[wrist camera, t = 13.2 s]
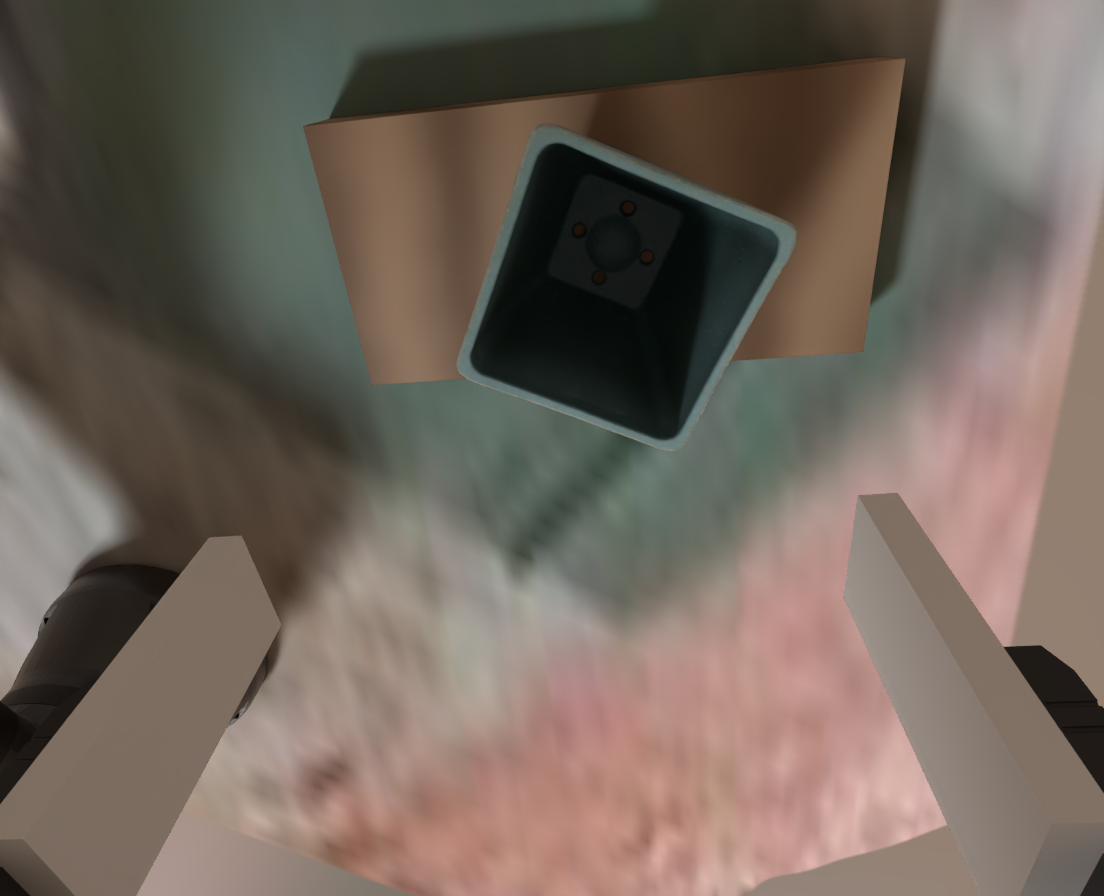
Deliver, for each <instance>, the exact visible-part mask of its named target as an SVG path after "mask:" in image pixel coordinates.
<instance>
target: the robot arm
mask: <svg viewBox="0 0 1104 896" xmlns="http://www.w3.org/2000/svg"><path fill="white" fill-rule="evenodd" d="M844 599H845V601H846V604H847V606H848V608H849V610H850V612H851V615H852V617H853V619H854V621H855V623H856V625H857V628H858V630H859V632H860V634H861V636H862V639H863V641H864V643H865V645H866V647H867V649H868V652H869V654H870V656H871V658H872V660H873V663H874V665H875V667H876V669H877V671H878V673H879V676H880V678H881V680H882V682H883V684H884V687H885V689H886V691H887V693H888V695H889V698H890V700H891V702H892V704H893V706H894V708H895V711H896V713H897V715H898V717H899V719H900V722H901V724H902V726H903V728H904V730H905V732H906V735H907V737H908V739H909V741H910V743H911V746H912V748H913V750H914V752H915V754H916V756H917V759H918V761H919V763H920V765H921V767H922V770H923V772H924V774H925V776H926V778H927V781H928V783H929V785H930V787H931V789H932V791H933V794H934V796H935V798H936V800H937V802H938V805H939V807H940V809H941V811H942V813H943V815H944V818H945V820H946V822H947V824H948V826H949V829H950V831H951V833H952V835H953V837H954V839H955V842H956V844H957V846H958V848H959V850H960V853H961V855H962V857H963V859H964V861H965V864H966V866H967V868H968V870H969V872H970V874H971V876H972V879H973V881H974V883H975V885H976V888H977V890H978V892H979V894H980V896H1104V708H1103V707H1102V706H1099V705H1098V703H1097V699H1096V698H1095V697H1094V695H1093V694H1092V693H1091V691H1090V690H1089V689H1088V687H1087V686H1086V685H1085V684H1084V682H1083V681H1082V680H1081V679H1080V677H1079V676H1078V675H1077V673H1076V672H1075V671H1074V670H1073V669H1072V668H1070V667H1069V666H1068V665H1066V664H1065V663H1063V662H1062V661H1061V660H1060V659H1058V658H1057V657H1056V656H1054V655H1053V654H1052V653H1050V652H1049V651H1047V650H1046V649H1045V648H1044V647H1042V646H1040V645H1039V646H1015V647H1003V646H1002V644H1001V643H1000V641H999V640H998V639H997V637H996V636H995V634H994V633H993V631H992V630H991V628H990V627H989V625H988V624H987V622H986V621H985V620H984V618H983V617H982V615H981V614H980V612H979V611H978V609H977V608H976V606H975V605H974V604H973V602H972V601H971V599H970V598H969V596H968V595H967V593H966V592H965V590H964V589H963V588H962V586H961V585H960V583H959V582H958V580H957V579H956V577H955V576H954V574H953V573H952V571H951V570H950V569H949V567H948V566H947V564H946V563H945V561H944V560H943V558H942V557H941V555H940V554H939V553H938V551H937V550H936V548H935V547H934V545H933V544H932V542H931V541H930V539H929V538H928V537H927V535H926V534H925V532H924V531H923V529H922V528H921V526H920V525H919V523H918V522H917V521H916V519H915V518H914V516H913V515H912V513H911V512H910V510H909V509H908V507H907V506H906V504H905V503H904V502H903V500H902V499H901V497H900V496H899V494H898V493H888V494H872V495H858V497H857V504H856V511H855V519H854V526H853V533H852V540H851V548H850V555H849V562H848V570H847V577H846V584H845V591H844ZM280 627H281V623H280V621H279V618H278V616H277V614H276V612H275V609H274V607H273V605H272V603H271V600H270V598H269V596H268V594H267V591H266V589H265V587H264V585H263V582H262V580H261V578H260V576H259V574H258V571H257V569H256V567H255V565H254V562H253V560H252V558H251V556H250V553H249V551H248V549H247V547H246V544H245V542H244V540H243V538H242V535H240V536H224V537H209V538H208V540H207V541H206V542H205V543H204V545H203V546H202V547H201V548H200V550H199V551H198V552H197V554H196V555H195V556H194V557H193V559H192V560H191V561H190V563H189V564H188V565H187V566H186V568H185V569H184V570H183V571H182V573H181V574H180V575H178V574H175V573H172V572H168V571H165V570H161V569H156V568H151V567H144V566H133V565H120V566H110V567H104V568H100V569H96V570H93V571H91V572H88V573H86V574H84V575H82V576H81V577H79V578H78V579H77V580H75V581H74V582H73V583H72V584H71V585H70V586H69V587H68V588H67V589H66V590H65V591H64V592H63V593H62V594H61V595H60V596H59V597H58V598H57V599H56V600H55V601H54V603H53V604H52V605H51V606H50V607H49V609H48V610H47V612H46V613H45V615H44V617H43V620H42V622H41V624H40V627H39V632H38V638H37V640H36V642H35V644H34V646H33V647H32V649H31V651H30V652H29V654H28V656H27V658H26V660H25V661H24V663H23V665H22V667H21V669H20V671H19V673H18V676H17V678H16V680H15V682H14V684H13V686H12V688H11V689H10V691H9V692H8V693H7V694H6V695H5V696H4V698H3V699H2V700H1V701H0V896H136V895H137V893H138V891H139V889H140V888H141V886H142V884H143V882H144V880H145V878H146V876H147V875H148V873H149V871H150V869H151V867H152V865H153V863H154V861H155V860H156V858H157V856H158V854H159V852H160V850H161V848H162V846H163V845H164V843H165V841H166V839H167V837H168V835H169V833H170V832H171V830H172V828H173V826H174V824H175V822H176V820H177V819H178V817H179V815H180V813H181V811H182V809H183V808H184V806H185V804H186V802H187V800H188V798H189V796H190V795H191V793H192V791H193V789H194V787H195V785H196V783H197V782H198V780H199V778H200V776H201V774H202V772H203V770H204V769H205V767H206V765H207V763H208V761H209V759H210V757H211V756H212V754H213V752H214V750H215V748H216V746H217V744H218V742H219V741H220V739H221V737H222V735H223V733H224V731H225V729H226V728H227V727H228V726H230V725H232V724H233V723H234V722H236V721H237V720H238V719H239V718H240V717H241V716H242V715H243V714H244V713H245V712H246V710H247V709H248V708H249V706H250V705H251V703H252V701H253V699H254V697H255V696H256V694H257V692H258V690H259V688H260V686H261V684H262V683H263V681H264V678H265V675H266V671H267V656H266V653H267V651H268V650H269V648H270V646H271V644H272V642H273V640H274V638H275V637H276V635H277V633H278V631H279V629H280Z"/></svg>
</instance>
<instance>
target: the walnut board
mask: <svg viewBox="0 0 1104 896" xmlns="http://www.w3.org/2000/svg"><path fill="white" fill-rule="evenodd" d="M905 60H906V58H888V57H873V58H864V59H855V60H847V61H838V62H829V63H820V64H811V65H802V66H794V67H785V68H776V69H767V70H758V71H749V72H741V73H732V74H723V75H714V76H705V77H697V78H688V79H679V80H670V81H661V82H652V83H644V84H635V85H626V86H617V87H608V88H599V89H591V90H582V91H573V92H564V93H555V94H546V95H538V96H529V97H520V98H511V99H502V100H494V101H485V102H476V103H467V104H458V105H449V106H441V107H432V108H423V109H414V110H405V111H396V112H388V113H379V114H370V115H361V116H352V117H343V118H335V119H327V120H324V121H320V122H317V123H313V124H309V125H306V126H303V127H304V131H305V135H306V139H307V142H308V146H309V150H310V154H311V157H312V161H313V165H314V169H315V172H316V176H317V180H318V184H319V188H320V191H321V195H322V199H323V203H324V206H325V210H326V214H327V218H328V221H329V225H330V229H331V233H332V236H333V240H334V244H335V248H336V251H337V255H338V259H339V263H340V266H341V270H342V274H343V278H344V281H345V285H346V289H347V293H348V296H349V300H350V304H351V308H352V311H353V315H354V319H355V323H356V326H357V330H358V334H359V338H360V341H361V345H362V349H363V353H364V356H365V360H366V364H367V368H368V372H369V375H370V379H371V383H372V385H379V384H394V383H409V382H424V381H439V380H453V379H467V378H465V377H464V376H462V375H461V374H459V372H458V370H457V358H458V355H459V351H460V348H461V345H462V343H463V340H464V337H465V334H466V331H467V328H468V325H469V322H470V319H471V316H472V313H473V310H474V307H475V304H476V301H477V298H478V295H479V292H480V289H481V286H482V283H483V279H484V276H485V273H486V270H487V267H488V264H489V260H490V258H491V255H492V252H493V249H494V246H495V243H496V239H497V236H498V233H499V230H500V227H501V224H502V220H503V217H504V214H505V210H506V207H507V204H508V201H509V198H510V194H511V191H512V188H513V185H514V182H515V178H516V175H517V172H518V168H519V166H520V163H521V159H522V156H523V151H524V148H525V145H526V143H527V140H528V138H529V136H530V134H531V132H532V130H533V129H534V128H535V127H536V126H538V125H539V124H541V123H550V124H556V125H559V126H562V127H565V128H567V129H570V130H573V131H575V132H577V133H579V134H582V135H584V136H586V137H588V138H591V139H593V140H596V141H598V142H600V143H603V144H605V145H608V146H610V147H612V148H615V149H617V150H620V151H622V152H624V153H627V154H629V155H632V156H634V157H637V158H639V159H642V160H644V161H646V162H649V163H651V164H654V165H656V166H658V167H661V168H663V169H666V170H668V171H671V172H673V173H675V174H678V175H680V176H683V177H685V178H687V179H690V180H692V181H695V182H697V183H699V184H702V185H704V186H707V187H709V188H711V189H714V190H716V191H719V192H721V193H723V194H726V195H728V196H731V197H733V198H736V199H738V200H741V201H743V202H746V203H748V204H750V205H752V206H755V207H757V208H759V209H762V210H764V211H766V212H769V213H771V214H773V215H776V216H778V217H780V218H782V219H784V220H786V221H788V222H790V223H791V224H793V225H794V226H795V228H796V229H797V230H798V236H797V242H796V245H795V248H794V250H793V252H792V254H791V256H790V258H789V260H788V262H787V263H786V265H785V266H784V267H783V269H782V271H781V273H780V275H779V276H778V278H777V280H776V281H775V283H774V285H773V286H772V288H771V290H770V292H769V293H768V295H767V297H766V298H765V300H764V302H763V304H762V306H761V307H760V309H759V310H758V312H757V314H756V316H755V318H754V320H753V321H752V323H751V325H750V327H749V328H748V330H747V332H746V334H745V336H744V338H743V339H742V341H741V343H740V345H739V347H738V349H737V350H736V352H735V354H734V355H733V357H732V359H731V361H735V360H750V359H765V358H780V357H795V356H810V355H824V354H839V353H854V352H863V350H864V343H865V337H866V330H867V323H868V316H869V309H870V302H871V295H872V288H873V281H874V274H875V267H876V260H877V253H878V247H879V240H880V233H881V226H882V219H883V212H884V205H885V198H886V191H887V184H888V177H889V170H890V163H891V157H892V150H893V143H894V136H895V129H896V122H897V115H898V108H899V101H900V94H901V87H902V80H903V73H904V67H905ZM622 210H623V212H624V213H626V214H630V213H632V212H633V211H634V204H633V203H631V202H626V203H624V204H623V206H622ZM585 230H586V229H585V227H584V226H583V225H581V224H578V225H576V226H575V228H574V233H575V234H576V235H577V236H582V235H584V233H585ZM652 258H653V255H652V253H651V252H649V251H645V252H643V253H642V254H641V260H642V261H643V262H645V263H647V262H650V261H651V260H652ZM593 278H594V280H595V282H597V283H602V282H603V281H604V280H605V274H604V273H603V272H596V273H595V274H594V276H593Z"/></svg>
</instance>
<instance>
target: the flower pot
mask: <svg viewBox="0 0 1104 896" xmlns="http://www.w3.org/2000/svg"><path fill="white" fill-rule="evenodd" d="M626 202H631V203H633V204H634V211H633V212H632V213H630V214H626V213H624V212H623V210H622V206H623V204H624V203H626ZM578 224H581V225H583V226H584V227H585V229H586V230H585V233H584V235H582V236H577V235H576V234H575V233H574V228H575V226H576V225H578ZM797 236H798V230H797V229H796V228H795V226H794V225H793V224H791V223H790V222H788V221H786V220H784V219H782V218H780V217H778V216H776V215H773V214H771V213H769V212H766V211H764V210H762V209H759V208H757V207H755V206H752V205H750V204H748V203H746V202H743V201H741V200H738V199H736V198H733V197H731V196H728V195H726V194H723V193H721V192H719V191H716V190H714V189H711V188H709V187H707V186H704V185H702V184H699V183H697V182H695V181H692V180H690V179H687V178H685V177H683V176H680V175H678V174H675V173H673V172H671V171H668V170H666V169H663V168H661V167H658V166H656V165H654V164H651V163H649V162H646V161H644V160H642V159H639V158H637V157H634V156H632V155H629V154H627V153H624V152H622V151H620V150H617V149H615V148H612V147H610V146H608V145H605V144H603V143H600V142H598V141H596V140H593V139H591V138H588V137H586V136H584V135H582V134H579V133H577V132H575V131H573V130H570V129H567V128H565V127H562V126H559V125H556V124H550V123H541V124H539V125H538V126H536V127H535V128H534V129H533V130H532V132H531V134H530V136H529V138H528V140H527V143H526V145H525V148H524V151H523V156H522V159H521V163H520V166H519V168H518V172H517V175H516V178H515V182H514V185H513V188H512V191H511V194H510V198H509V201H508V204H507V207H506V210H505V214H504V217H503V220H502V224H501V227H500V230H499V233H498V236H497V239H496V243H495V246H494V249H493V252H492V255H491V258H490V260H489V264H488V267H487V270H486V273H485V276H484V279H483V283H482V286H481V289H480V292H479V295H478V298H477V301H476V304H475V307H474V310H473V313H472V316H471V319H470V322H469V325H468V328H467V331H466V334H465V337H464V340H463V343H462V345H461V348H460V351H459V355H458V358H457V370H458V372H459V374H461V375H462V376H464V377H465V378H467V379H468V380H471V381H473V382H475V383H478V384H480V385H482V386H486V387H489V388H492V389H495V390H498V391H501V392H503V393H507V394H509V395H512V396H516V397H518V398H521V399H525V400H527V401H530V402H533V403H536V404H539V405H541V406H545V407H548V408H550V409H553V410H555V411H559V412H562V413H564V414H567V415H570V416H573V417H575V418H578V419H581V420H584V421H586V422H588V423H591V424H594V425H597V426H599V427H602V428H604V429H608V430H610V431H612V432H615V433H619V434H621V435H623V436H626V437H629V438H632V439H634V440H637V441H639V442H642V443H645V444H647V445H650V446H653V447H656V448H658V449H662V450H667V451H679V450H680V449H682V448H683V446H684V445H685V444H686V442H687V440H688V438H689V437H690V436H691V434H692V432H693V430H694V428H695V426H696V424H697V422H698V421H699V419H700V416H701V414H702V413H703V411H704V409H705V407H706V406H707V404H708V402H709V400H710V397H711V395H712V394H713V392H714V390H715V388H716V386H717V384H718V382H719V381H720V379H721V377H722V375H723V373H724V371H725V370H726V368H727V366H728V365H729V362H730V361H731V359H732V357H733V355H734V354H735V352H736V350H737V349H738V347H739V345H740V343H741V341H742V339H743V338H744V336H745V334H746V332H747V330H748V328H749V327H750V325H751V323H752V321H753V320H754V318H755V316H756V314H757V312H758V310H759V309H760V307H761V306H762V304H763V302H764V300H765V298H766V297H767V295H768V293H769V292H770V290H771V288H772V286H773V285H774V283H775V281H776V280H777V278H778V276H779V275H780V273H781V271H782V269H783V267H784V266H785V265H786V263H787V262H788V260H789V258H790V256H791V254H792V252H793V250H794V248H795V245H796V242H797ZM645 251H649V252H651V253H652V255H653V258H652V260H651V261H650V262H647V263H645V262H643V261H642V260H641V254H642V253H643V252H645ZM596 272H603V273H604V274H605V280H604V281H603V282H602V283H597V282H595V280H594V278H593V276H594V274H595V273H596Z"/></svg>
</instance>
